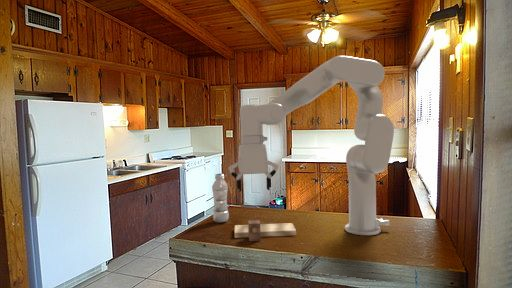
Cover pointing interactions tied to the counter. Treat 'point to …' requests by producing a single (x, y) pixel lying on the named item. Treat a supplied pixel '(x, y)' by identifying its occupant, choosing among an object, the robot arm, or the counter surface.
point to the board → (267, 230)
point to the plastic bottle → (220, 199)
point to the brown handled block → (254, 230)
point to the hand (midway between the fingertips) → (254, 190)
